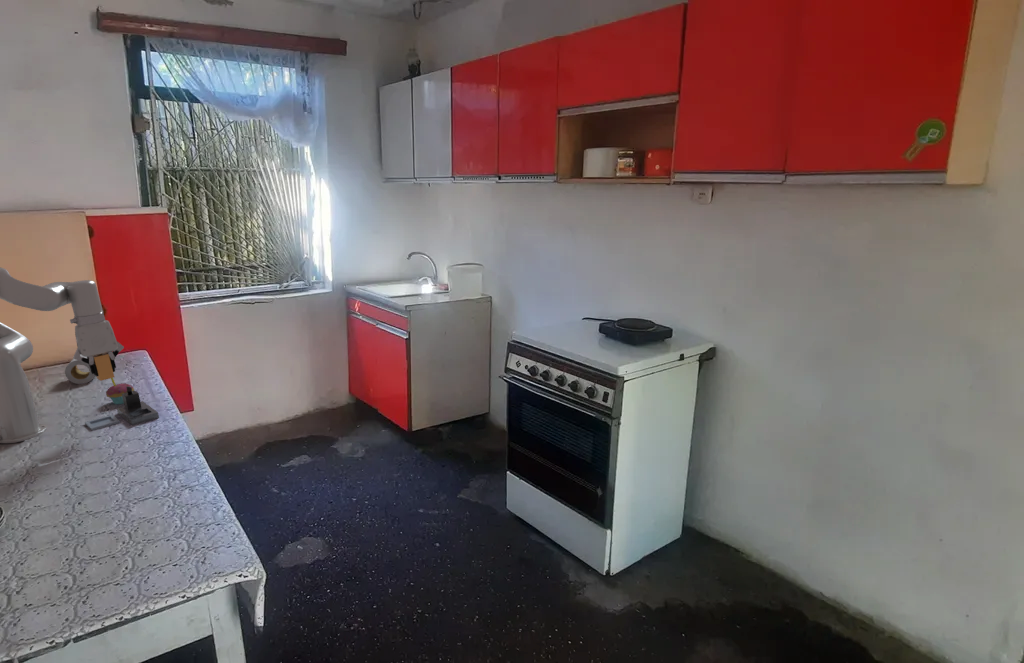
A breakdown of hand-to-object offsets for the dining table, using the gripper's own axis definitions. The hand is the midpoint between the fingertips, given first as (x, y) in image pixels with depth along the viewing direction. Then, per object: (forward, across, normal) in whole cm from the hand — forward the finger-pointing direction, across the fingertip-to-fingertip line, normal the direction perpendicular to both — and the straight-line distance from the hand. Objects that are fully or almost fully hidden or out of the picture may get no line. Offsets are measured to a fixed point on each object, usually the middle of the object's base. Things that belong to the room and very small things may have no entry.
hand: (104, 372), depth 192 cm
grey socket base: (+18, +6, 0) cm, 19 cm away
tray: (+18, -4, +2) cm, 18 cm away
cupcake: (+18, +7, +20) cm, 28 cm away
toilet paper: (+17, +5, +62) cm, 65 cm away
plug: (+2, 0, 0) cm, 2 cm away
